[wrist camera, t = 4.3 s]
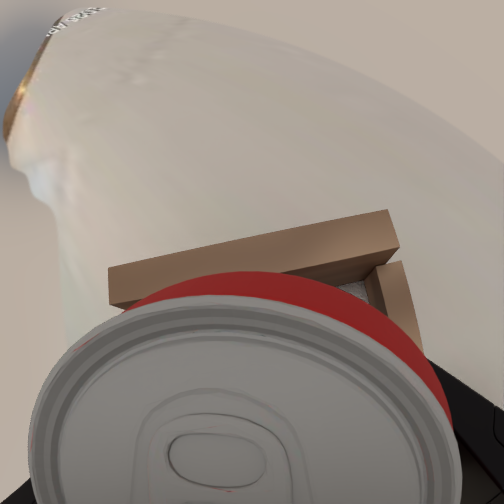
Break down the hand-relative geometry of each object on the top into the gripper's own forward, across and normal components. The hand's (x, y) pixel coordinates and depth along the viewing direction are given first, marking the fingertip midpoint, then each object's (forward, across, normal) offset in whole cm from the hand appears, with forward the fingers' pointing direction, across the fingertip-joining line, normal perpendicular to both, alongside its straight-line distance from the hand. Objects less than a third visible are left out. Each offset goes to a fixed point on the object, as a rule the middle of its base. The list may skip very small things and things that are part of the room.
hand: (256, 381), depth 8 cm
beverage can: (+4, 0, +6) cm, 7 cm away
